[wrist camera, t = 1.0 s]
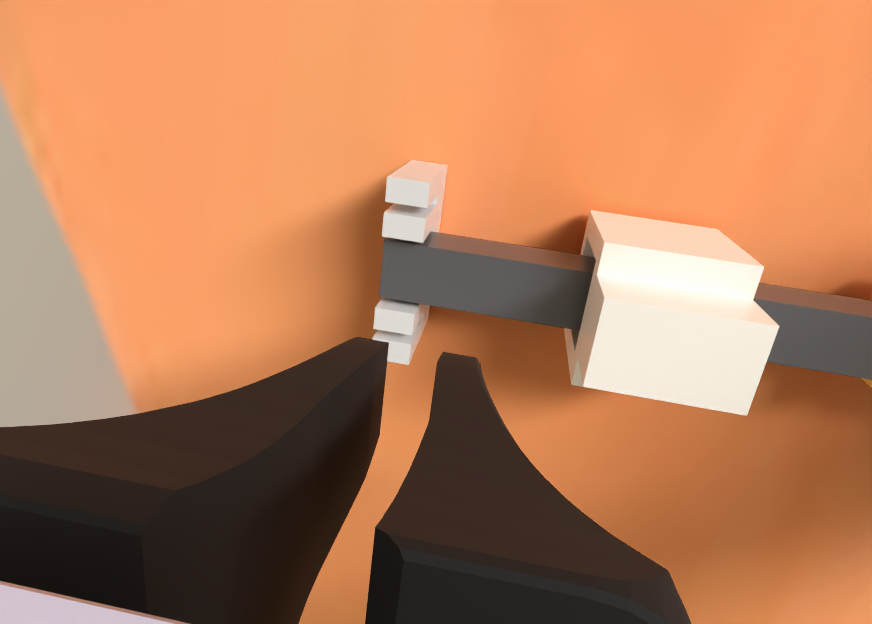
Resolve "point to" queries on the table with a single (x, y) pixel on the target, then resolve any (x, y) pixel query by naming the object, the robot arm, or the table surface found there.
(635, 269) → the sleeve
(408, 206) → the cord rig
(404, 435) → the table surface
